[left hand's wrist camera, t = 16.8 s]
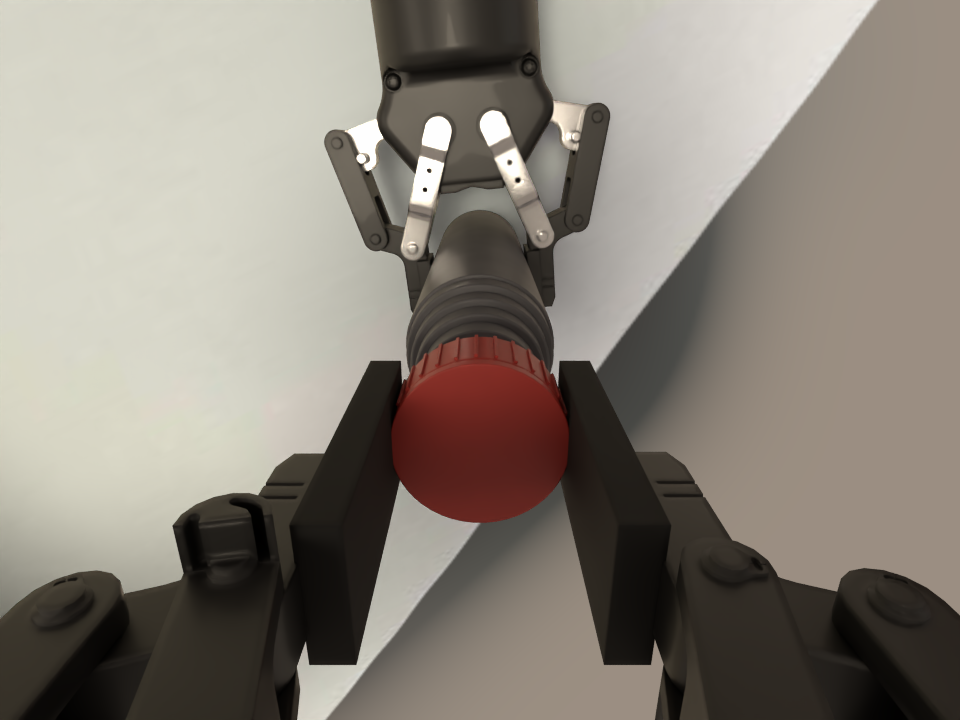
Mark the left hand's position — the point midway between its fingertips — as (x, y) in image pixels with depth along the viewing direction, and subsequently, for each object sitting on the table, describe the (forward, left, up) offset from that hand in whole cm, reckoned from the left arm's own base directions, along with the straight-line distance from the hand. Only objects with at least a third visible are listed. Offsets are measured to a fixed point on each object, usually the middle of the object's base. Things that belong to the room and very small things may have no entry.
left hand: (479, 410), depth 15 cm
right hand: (-2, -2, -17) cm, 17 cm away
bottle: (0, 0, -23) cm, 23 cm away
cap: (0, 0, +2) cm, 2 cm away
